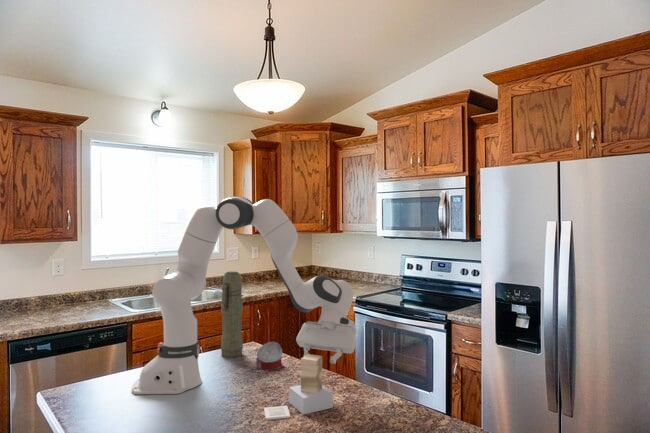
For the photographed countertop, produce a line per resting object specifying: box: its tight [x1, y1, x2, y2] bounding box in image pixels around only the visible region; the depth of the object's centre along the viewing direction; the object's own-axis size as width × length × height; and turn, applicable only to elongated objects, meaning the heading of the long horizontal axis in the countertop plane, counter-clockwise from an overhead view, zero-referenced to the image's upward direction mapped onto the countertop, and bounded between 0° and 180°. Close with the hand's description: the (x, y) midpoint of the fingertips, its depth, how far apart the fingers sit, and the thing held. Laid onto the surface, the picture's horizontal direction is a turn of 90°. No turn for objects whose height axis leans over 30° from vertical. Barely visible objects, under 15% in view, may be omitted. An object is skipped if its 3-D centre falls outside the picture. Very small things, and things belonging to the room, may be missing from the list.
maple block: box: [300, 353, 323, 394], centre depth 136 cm, size 5×5×10 cm
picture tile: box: [263, 405, 291, 421], centre depth 130 cm, size 7×7×1 cm
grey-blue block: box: [288, 384, 334, 415], centre depth 136 cm, size 10×10×5 cm
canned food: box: [255, 341, 283, 371], centre depth 173 cm, size 11×10×10 cm
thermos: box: [220, 271, 244, 359], centre depth 187 cm, size 9×12×35 cm
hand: (318, 360), depth 141 cm, fingers open, 8 cm apart
